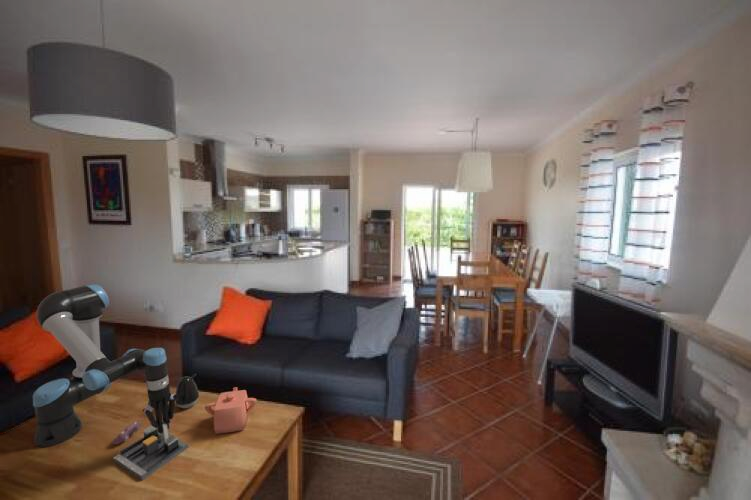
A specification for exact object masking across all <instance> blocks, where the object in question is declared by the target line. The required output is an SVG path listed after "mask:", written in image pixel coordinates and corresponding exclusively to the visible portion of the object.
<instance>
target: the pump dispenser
mask: <svg viewBox="0 0 751 500" xmlns="http://www.w3.org/2000/svg"><path fill="white" fill-rule="evenodd" d="M196 376H197V374H196V373H194V374H192V375H191V376H187V375H186V376H183V377H181V378H180V379H179V381H178V383H177V385H176V386H177V387H176V391H175V394H176V395H177V398H176V400H175V405H177V406H178V407H179V408H181V409H188V408H191V407H193V406H194V405H196V404H197V403H198V399H199V396H200V392H199V389H198V386H197V384H196V382H195V381H194V378H195V377H196Z"/></svg>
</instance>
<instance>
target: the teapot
mask: <svg viewBox="0 0 751 500" xmlns="http://www.w3.org/2000/svg"><path fill="white" fill-rule="evenodd" d="M249 403H250V404H249ZM256 404H257V398H255V397H248V394H247V390H246V389H242V390H241V389H240V390H238V387H236V386H235V387H233V388H232V391H226V392H225V391H224V392H220V394H219V396H218V398H217V401H216V402H215V401H214V402H210V403H207V404H205V406H204V409H205V411H206V413H208V414H210V415H211V416H213V430H214V433H215V434H217V435H218V434H226V433H232V432H239V431H244V429H245V427H246V426H247V425H246V424H247V422H248V418H249V412H250V411H251V410H252V409H253V408H254V407H255V406H256ZM212 407H214V409H213V408H212Z"/></svg>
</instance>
